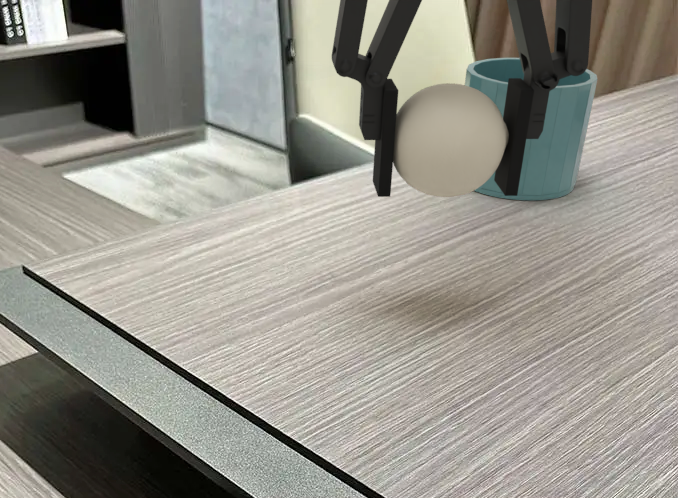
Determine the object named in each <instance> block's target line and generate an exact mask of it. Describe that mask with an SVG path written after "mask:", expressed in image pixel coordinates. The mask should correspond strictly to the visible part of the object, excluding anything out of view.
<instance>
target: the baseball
mask: <svg viewBox="0 0 678 498" xmlns="http://www.w3.org/2000/svg"><path fill="white" fill-rule="evenodd" d="M508 139H509V133H508V129H507V126H506V124H505V122H504V120H503V117H502V115H501V113H500V111H499V109H498V107H497V106H496V104H495V103H494V102H493V101H492V100H491V99H490V98H489V97H488V96H486V95H485V94H484V93H482V92H480V91H479V90H477V89H474V88H472V87H468V86H465V84H462V83H450V82H449V83H437V84H433V85H430V86H427V87H424V88H421V89H420V90H418V91H416V92H415V93H413V94H412V95H411V96H410V97H409V98H407V99H406V101H404V103H403V104H402V105H401V107H400V108H399V109H398V110H397V115H396V128H395V141H394V154H393V167H395V170H396V171H397V174H398V175H399V176H400V178H401V179H402V180H403V181H404V182H405V183H406V184H407V185H408V186H410V187H411V188H413V189H415V190H416V191H418V192H420V193H422V194H425V195H428V196H431V197H439V198H454V197H461V196H465V195H468V194H470V193H472V192H475V191H474V190H476V189H477V188H479V187H480V186H481V185H483V184H484V183H485V182H486V181H487V180H488V179H489V178H490V177H491V176H492V175H493V174H494V172H495V171H496V169H497V167H498V166H499V164H500V162H501V159H502V157H503V154H504V151H505V148H506V146H507V143H508Z"/></svg>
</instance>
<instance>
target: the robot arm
mask: <svg viewBox="0 0 678 498" xmlns="http://www.w3.org/2000/svg"><path fill="white" fill-rule="evenodd" d="M422 1H423V0H388V2H387V5H386V7H385V9H384V12H383V14H382V16H381V19H380V21H379V23H378V25H377V28H376V30H375V32H374V34H373V37H372V39H371V42H370V44H369V47H368V49H367V51H366V53H365V55H364V54H361V53H360V48H361V41H362V35H363V31H364V25H365V20H366V19H365V18H366V12H367V7H368V0H339V6H338V12H337V19H336V26H335V32H334V39H333V45H332V50H331V52H332V53H331V62H332V64H333V68H334V70H335V72H336V74H337V75H339V77H342V78H349V79H352V80H354V81H357V82H358V83H359V84H360V97H359V98H360V101H359V119H358V121H359V122H358V127H359V129H360V132H361V134H362V137H363V140H364V141H375V142H374V151H373V152H374V153H373V166H372V168H373V170H372V183H373V186H374V189H375V192H376V195H377V197H379V198H386V197H387V198H390V197H391V193H392V178H393V167H394V164H393V154H394V141H395V128H396V115H397V113H398V101H399V99H398V98H399V89H398V87H397V86H396V83H395V82H394V81H393V79H392V78H389V75H390V73H391V71H392V69H393V66H394V64H395V62H396V59H397V57H398V55H399V53H400V52H401V48H402V47H403V44H404V42H405V39H406V37H407V35H408V33H409V30H410V28H411V26H412V24H413V21H414V19H415V17H416V15H417V13H418V10H419V8H420V6H421V4H422ZM506 3H507V9H508V12H509V16H510V20H511V21H510V22H511V26H512V30H513V35H514V38H515V39H514V40H515V43H516V48H517V52H518V58H520V62H521V66H522V70H523V73H524V79H523V80H522V79H521V78H509V80H508V87H507V94H506V101H505V108H504V115H503V120H504V122H505V124H506V126H507V129H508V133H509V139H508V143H507V146H506V148H505V151H504V154H503V157H502V159H501V162H500V164H499V166H498V167H497V169H496V171H495V178H494V181H495V182H496V184H497V185H498V186H499V188H500V189H501V191H502V192H503V193H504V195H505V196H517V194H518V188H519V182H520V175H521V169H522V163H523V157H524V150H525V144H526V139H538V138H539V137H540V135H541V133H542V131H543V127H544V120H545V114H546V109H547V103H548V98H549V92H550V91H551V90H553V89H554V88H555V87H556V86H557V85H558V82H559V80H560V79H562V78H565V77H568V76H571V75H572V76H579V75H581V74H583V73H584V72H585V71H586V69H588V66H589V57H590V41H591V26H592V13H593V12H592V9H593V0H555V20H554V43H553V44H554V45H553V52H551V47H550V43H549V37H548V33H547V28H546V21H545V18H544V13H543V7H542V3H541V0H506Z"/></svg>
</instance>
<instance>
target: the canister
mask: <svg viewBox="0 0 678 498" xmlns="http://www.w3.org/2000/svg"><path fill="white" fill-rule="evenodd" d="M509 78H521V79H522V80H523V79H524V73H523V70H522V66H521V62H520V57H497V58H496V57H495V58H494V57H493V58H487V59H480V60H476V61H473V62H471V63H469V64H468V65H467V68H466V71H465V79H464V85H465V86H468V87H472V88H474V89H477V90H479V91H480V92H482V93H484V94H485V95H486V96H488V97H489V98H490V99H491V100H492V101H493V102H494V103H495V104H496V106H497V107H498V109H499V111H500V113H501V115H502V117H503V115H504V108H505V101H506V94H507V87H508V80H509ZM597 84H598V75H597V74H596V73H595V72H593V71H592V70H590V69H588V68H587V69H586V71H585V72H584V73H583V74H581V75H579V76H572V75H571V76H568V77H565V78H562V79H560V80H559V82H558V85H557V86H556V87H555V88H554V89H553V90H551V91H550V92H549V98H548V103H547V109H546V114H545V120H544V127H543V131H542V133H541V135H540V137H539V138H538V139H526V144H525V150H524V157H523V163H522V169H521V175H520V182H519V188H518V194H517V196H505V195H504V193H503V192H502V191H501V189H500V188H499V186H498V185H497V184H496V182H495V181H494V178H495V172H494V174H493V175H492V176H491V177H490V178H489V179H488V180H487V181H486V182H485V183H484V184H483V185H481V186H480V187H479V188H477V189H476V190H474V191H473V192H476V193H480V194H483V195H485V196H486V195H487V196H490V197H494V198H498V199H499V198H500V199H506V200H516V201H546V200H547V201H548V200H553V199H558V198H561V197H565V196H567V195H568V194H570V193H572V192H573V191H574V190H575V188H576V187H575V186H576V184H577V180H578V177H579V176H578V174H579V170H580V166H581V161H582V157H583V152H584V147H585V141H586V136H587V133H588V127H589V122H590V118H591V112H592V108H593V103H594V99H595V93H596V89H597Z"/></svg>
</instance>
